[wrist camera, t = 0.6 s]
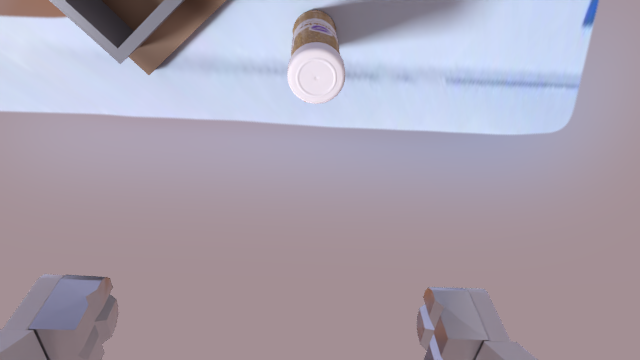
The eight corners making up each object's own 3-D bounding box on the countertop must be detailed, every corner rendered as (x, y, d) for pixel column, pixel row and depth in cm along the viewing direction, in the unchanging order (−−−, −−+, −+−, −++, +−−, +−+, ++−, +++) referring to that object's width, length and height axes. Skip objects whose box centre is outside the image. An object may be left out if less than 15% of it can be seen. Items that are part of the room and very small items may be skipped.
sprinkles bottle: (336, 8, 43) (346, 48, 31) (335, 53, 45) (345, 105, 34) (291, 9, 42) (285, 49, 31) (292, 54, 45) (288, 106, 34)
